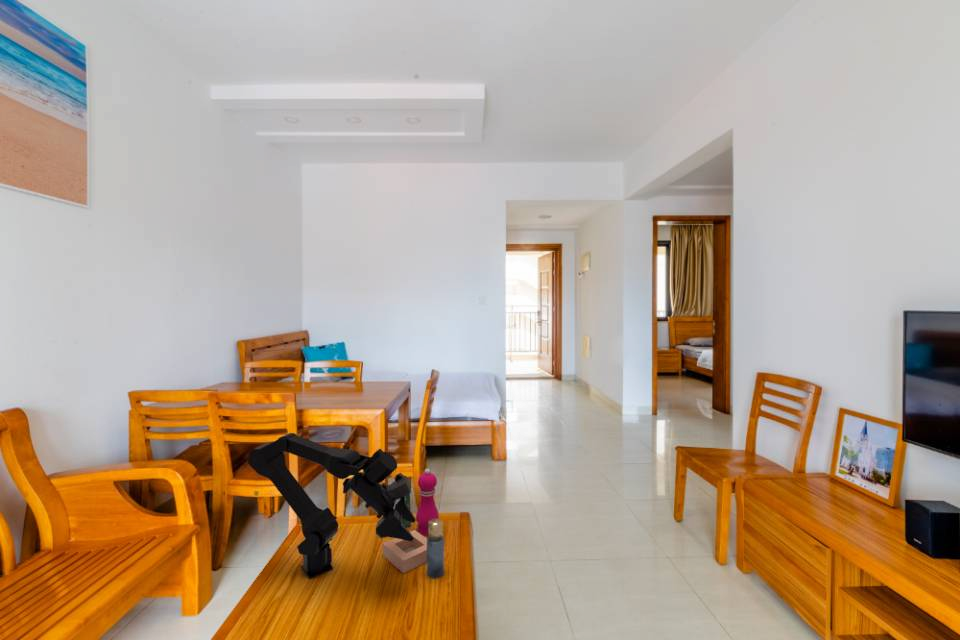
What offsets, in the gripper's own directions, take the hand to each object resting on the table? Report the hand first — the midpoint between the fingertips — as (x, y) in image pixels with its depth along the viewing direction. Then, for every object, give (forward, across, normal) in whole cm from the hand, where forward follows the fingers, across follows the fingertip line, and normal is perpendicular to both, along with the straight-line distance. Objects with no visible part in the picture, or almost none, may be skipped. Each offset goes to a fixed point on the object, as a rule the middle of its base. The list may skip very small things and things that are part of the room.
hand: (413, 530), depth 117 cm
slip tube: (+13, 0, +5) cm, 13 cm away
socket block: (+7, +8, +10) cm, 15 cm away
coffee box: (+4, +25, +13) cm, 28 cm away
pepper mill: (+11, +22, +7) cm, 25 cm away
